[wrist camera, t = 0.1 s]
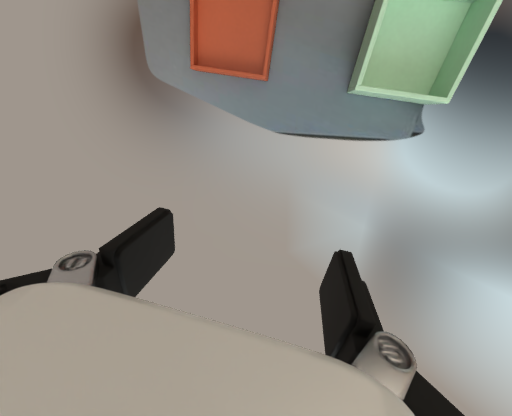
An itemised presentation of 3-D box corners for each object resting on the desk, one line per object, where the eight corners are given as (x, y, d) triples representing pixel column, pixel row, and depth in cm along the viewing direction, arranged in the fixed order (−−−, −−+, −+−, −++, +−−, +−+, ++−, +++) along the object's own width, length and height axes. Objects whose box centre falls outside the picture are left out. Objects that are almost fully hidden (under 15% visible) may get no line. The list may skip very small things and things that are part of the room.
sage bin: (378, -10, 27) (394, -36, 22) (475, -1, 26) (517, -27, 21) (346, 92, 33) (354, 89, 28) (425, 104, 32) (448, 103, 27)
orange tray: (196, -66, 28) (189, -77, 27) (288, -60, 27) (286, -72, 25) (195, 70, 36) (190, 68, 34) (267, 81, 34) (265, 79, 33)
